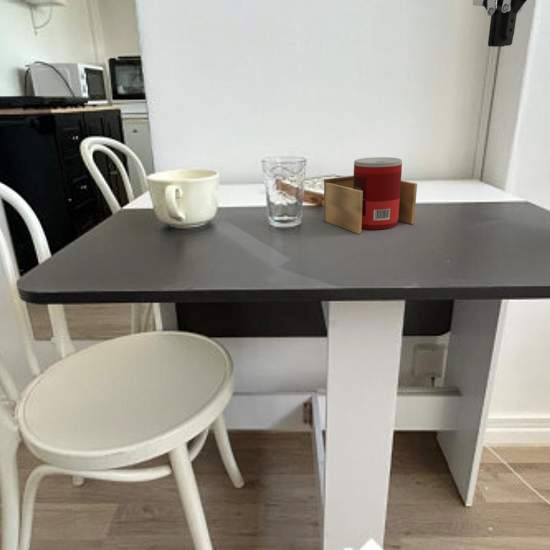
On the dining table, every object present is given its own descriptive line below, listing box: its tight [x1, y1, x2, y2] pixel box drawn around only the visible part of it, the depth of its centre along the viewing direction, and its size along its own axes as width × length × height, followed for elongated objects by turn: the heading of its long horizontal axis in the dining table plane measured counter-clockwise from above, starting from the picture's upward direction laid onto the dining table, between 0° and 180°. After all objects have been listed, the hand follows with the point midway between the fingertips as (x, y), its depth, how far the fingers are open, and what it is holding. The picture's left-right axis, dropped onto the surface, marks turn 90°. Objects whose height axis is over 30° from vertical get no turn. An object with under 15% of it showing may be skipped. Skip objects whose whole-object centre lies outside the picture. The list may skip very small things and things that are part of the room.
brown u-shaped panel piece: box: [323, 174, 418, 235], centre depth 77 cm, size 11×12×8 cm
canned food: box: [353, 156, 403, 231], centre depth 75 cm, size 8×8×11 cm
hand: (499, 45), depth 64 cm, fingers closed
